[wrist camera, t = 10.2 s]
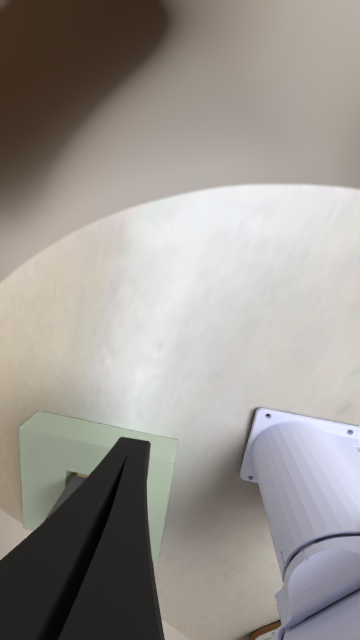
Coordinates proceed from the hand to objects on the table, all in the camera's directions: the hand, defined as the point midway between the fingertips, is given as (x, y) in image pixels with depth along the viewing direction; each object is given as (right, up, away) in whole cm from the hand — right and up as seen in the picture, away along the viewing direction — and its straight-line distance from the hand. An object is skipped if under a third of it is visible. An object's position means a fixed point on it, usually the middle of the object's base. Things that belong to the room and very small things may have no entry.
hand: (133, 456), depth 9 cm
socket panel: (-6, -11, +14) cm, 19 cm away
